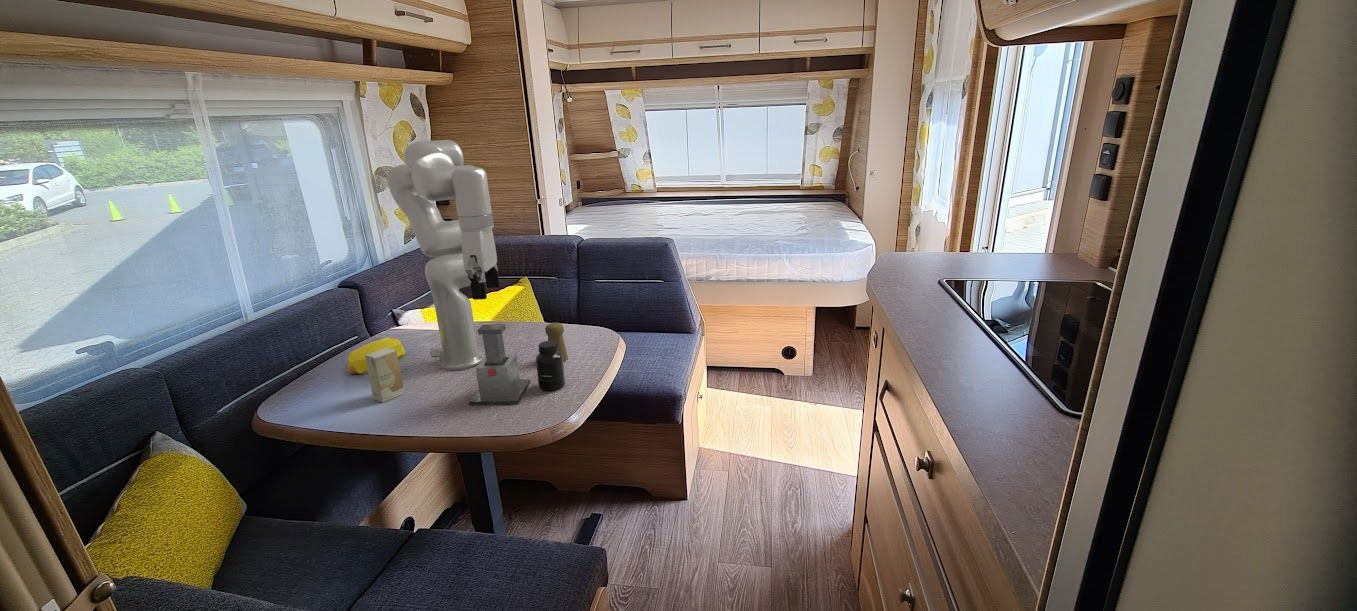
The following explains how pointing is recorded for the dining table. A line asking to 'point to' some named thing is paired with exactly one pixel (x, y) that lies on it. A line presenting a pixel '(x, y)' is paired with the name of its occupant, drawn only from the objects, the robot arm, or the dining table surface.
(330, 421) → the dining table surface
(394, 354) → the skincare box
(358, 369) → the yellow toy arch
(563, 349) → the olive knobbed figure
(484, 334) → the column
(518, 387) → the stand base
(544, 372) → the supplement bottle
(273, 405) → the dining table surface
